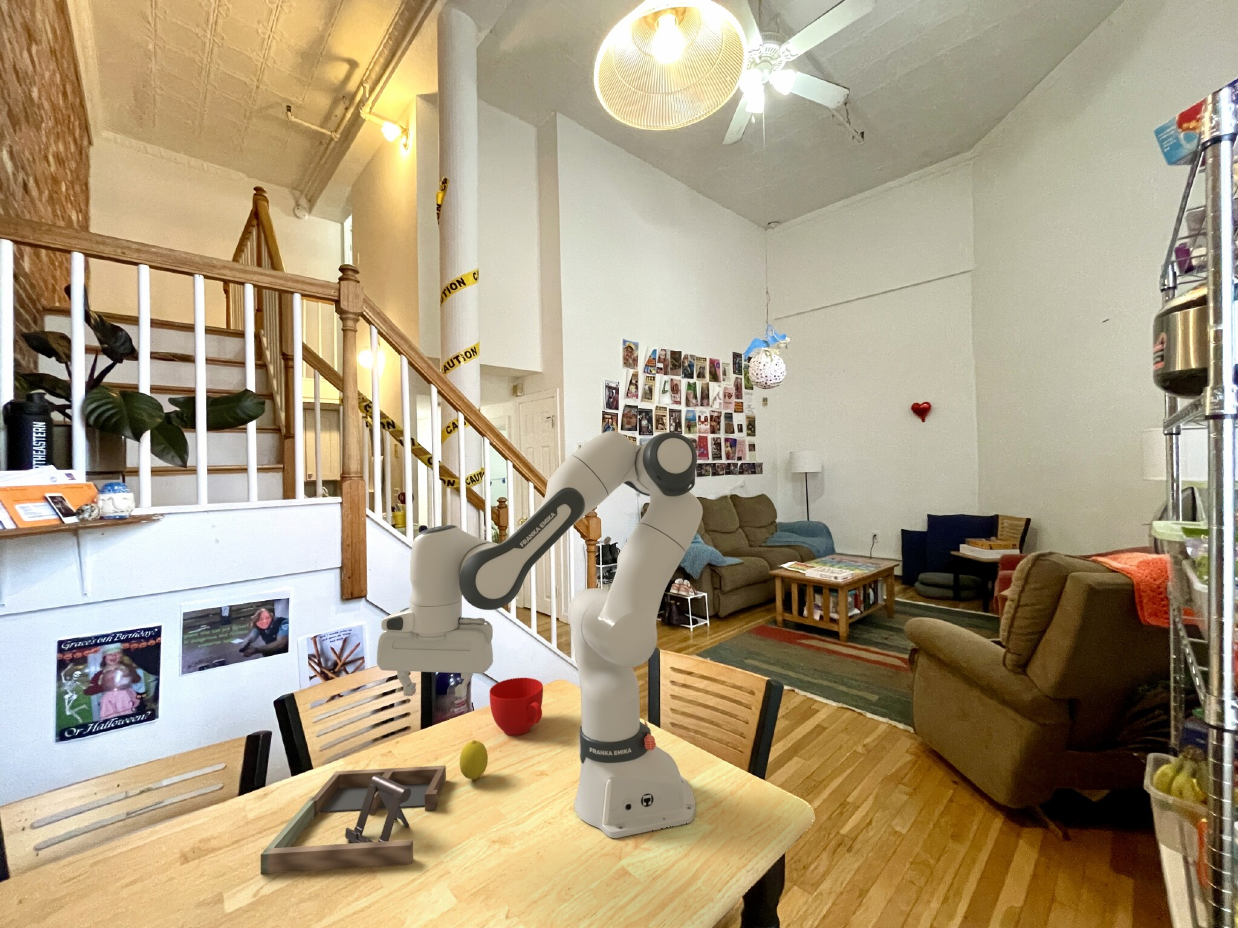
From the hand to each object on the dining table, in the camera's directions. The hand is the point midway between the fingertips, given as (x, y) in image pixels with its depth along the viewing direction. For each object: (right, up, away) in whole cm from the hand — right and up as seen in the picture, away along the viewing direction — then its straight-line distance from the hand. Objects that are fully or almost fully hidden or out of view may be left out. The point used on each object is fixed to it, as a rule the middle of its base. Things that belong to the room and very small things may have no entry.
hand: (435, 695), depth 90 cm
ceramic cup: (+9, -24, +33) cm, 42 cm away
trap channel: (-13, -24, +2) cm, 27 cm away
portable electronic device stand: (-9, -24, -2) cm, 25 cm away
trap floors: (-13, -24, +8) cm, 29 cm away
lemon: (+3, -24, +14) cm, 28 cm away
